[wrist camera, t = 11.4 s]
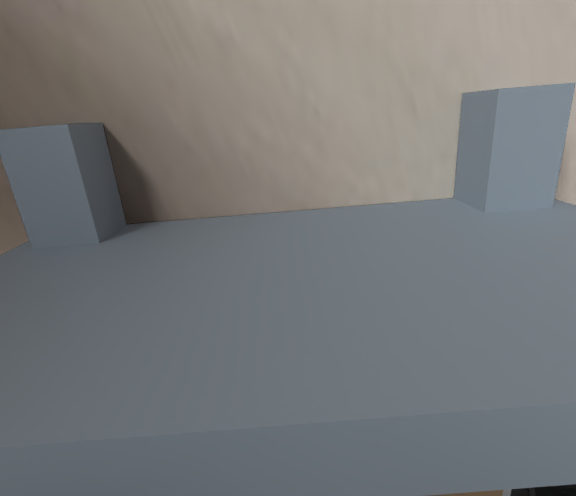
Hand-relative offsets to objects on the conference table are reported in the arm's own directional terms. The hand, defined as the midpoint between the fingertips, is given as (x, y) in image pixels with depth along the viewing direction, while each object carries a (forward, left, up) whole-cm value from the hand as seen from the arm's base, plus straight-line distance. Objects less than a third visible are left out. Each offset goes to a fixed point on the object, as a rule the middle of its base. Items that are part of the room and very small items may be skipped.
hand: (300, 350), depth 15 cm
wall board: (0, +7, -2) cm, 7 cm away
